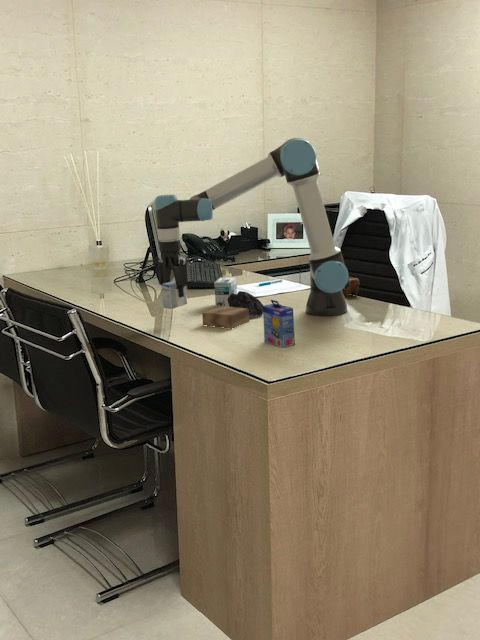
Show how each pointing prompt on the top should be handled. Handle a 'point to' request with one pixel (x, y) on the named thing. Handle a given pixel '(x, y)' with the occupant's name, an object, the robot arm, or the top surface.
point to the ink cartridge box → (278, 325)
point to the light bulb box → (224, 290)
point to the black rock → (246, 303)
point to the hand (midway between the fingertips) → (175, 305)
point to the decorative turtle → (351, 286)
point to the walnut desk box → (226, 317)
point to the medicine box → (171, 295)
